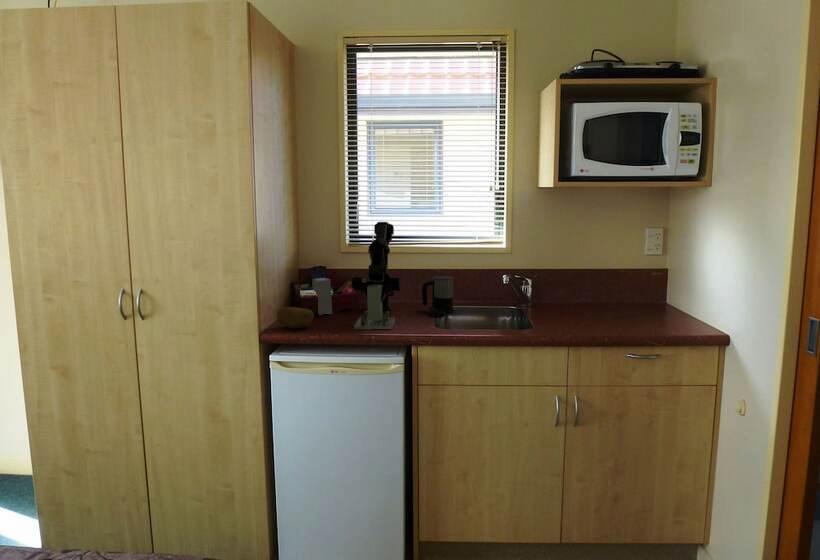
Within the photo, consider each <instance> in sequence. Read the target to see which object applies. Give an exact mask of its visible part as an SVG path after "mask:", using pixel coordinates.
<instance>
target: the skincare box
mask: <svg viewBox="0 0 820 560" xmlns="http://www.w3.org/2000/svg"><path fill="white" fill-rule="evenodd" d="M311 283H312V291H313V290H314V291H315V292H316V294H317V297H318V314H319V315H318V314H317V315H318V316H324V315H323V314H330V315H333V305H332V304H333V302H332V301H333V300H332V289H331V287H332V285H331V279H329V278H327V277H319V278H312V282H311Z"/></svg>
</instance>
